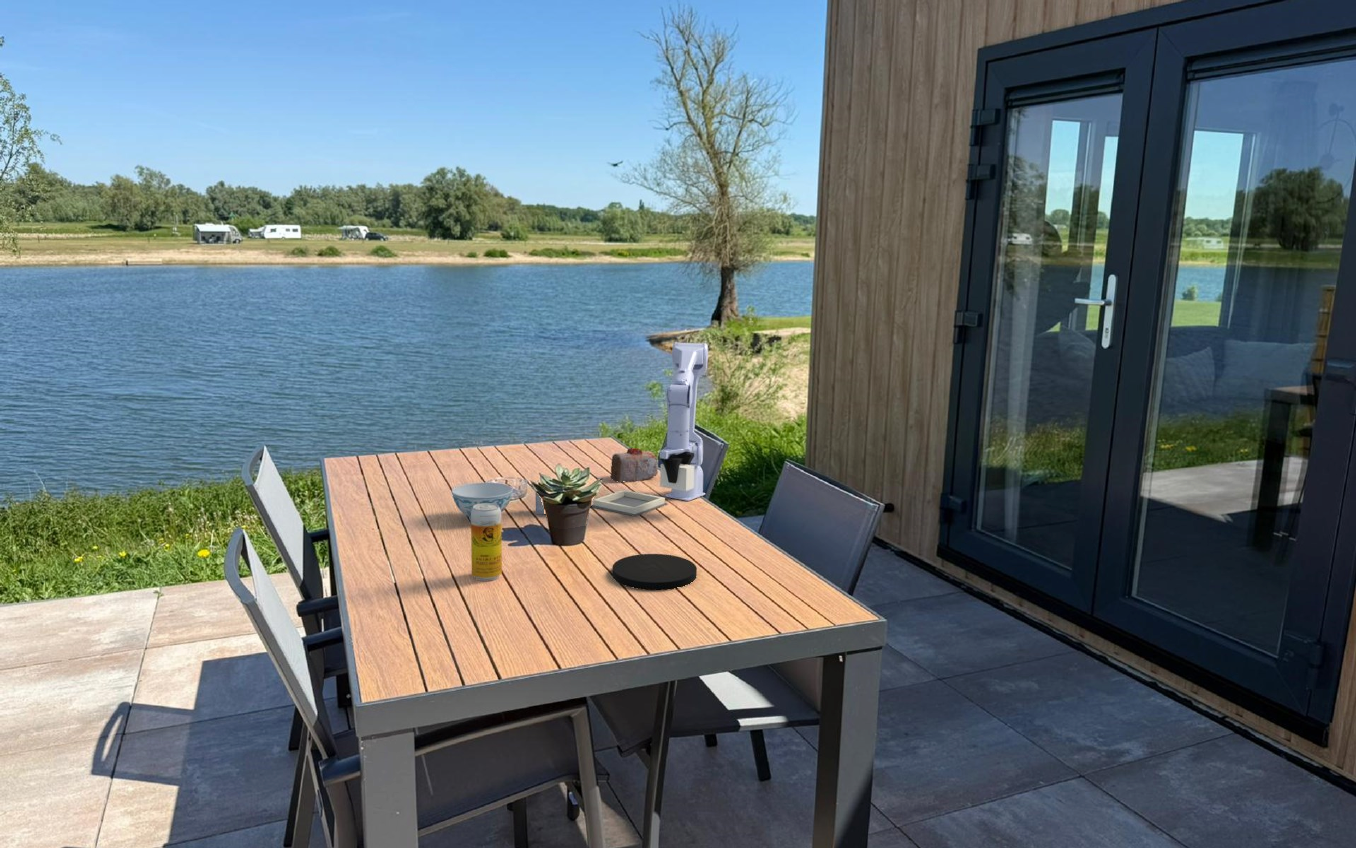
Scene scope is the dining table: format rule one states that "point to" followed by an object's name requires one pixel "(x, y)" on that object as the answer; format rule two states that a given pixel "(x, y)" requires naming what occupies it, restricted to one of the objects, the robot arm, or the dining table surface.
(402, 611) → the dining table surface
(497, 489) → the chinaware
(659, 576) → the wireless charger
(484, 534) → the beer can
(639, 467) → the food item
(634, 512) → the shallow square tray
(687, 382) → the robot arm
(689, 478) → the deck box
